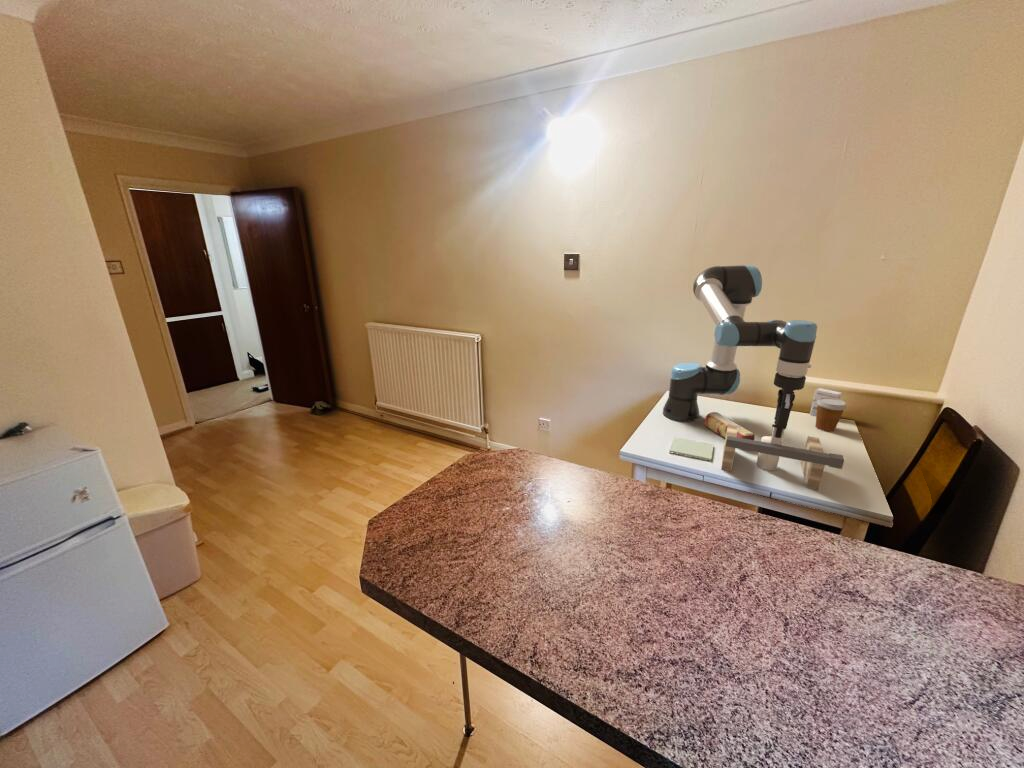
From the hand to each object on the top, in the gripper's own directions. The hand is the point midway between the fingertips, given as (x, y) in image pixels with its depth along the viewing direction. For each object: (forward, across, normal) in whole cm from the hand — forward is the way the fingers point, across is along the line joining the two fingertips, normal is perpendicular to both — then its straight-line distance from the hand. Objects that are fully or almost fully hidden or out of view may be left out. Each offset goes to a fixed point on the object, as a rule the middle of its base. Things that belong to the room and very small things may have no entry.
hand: (775, 445), depth 126 cm
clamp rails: (+13, +10, 0) cm, 16 cm away
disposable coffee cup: (+13, +54, -22) cm, 60 cm away
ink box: (+13, +68, -23) cm, 73 cm away
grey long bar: (+2, -2, -1) cm, 3 cm away
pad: (+13, +11, +24) cm, 29 cm away
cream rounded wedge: (+13, +10, 0) cm, 16 cm away
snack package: (+13, +29, +12) cm, 34 cm away
